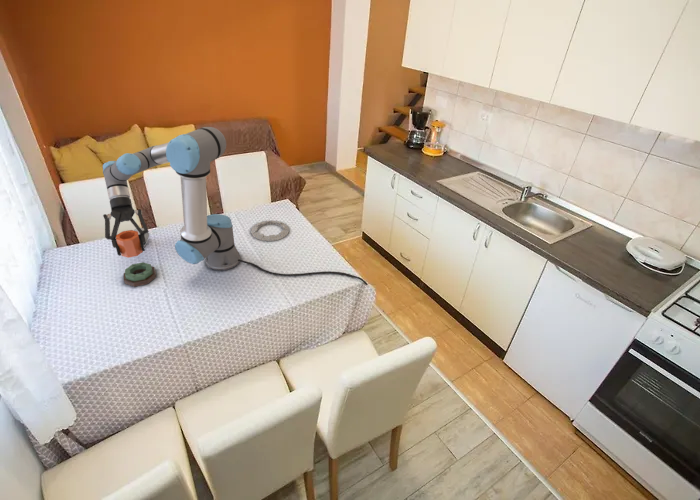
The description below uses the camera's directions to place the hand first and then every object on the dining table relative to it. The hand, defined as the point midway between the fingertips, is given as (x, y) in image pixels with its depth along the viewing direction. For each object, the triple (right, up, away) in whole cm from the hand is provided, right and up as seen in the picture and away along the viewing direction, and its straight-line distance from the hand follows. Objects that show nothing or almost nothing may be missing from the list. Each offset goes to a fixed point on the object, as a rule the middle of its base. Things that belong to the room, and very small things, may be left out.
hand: (131, 252), depth 152 cm
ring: (+46, +11, +48) cm, 67 cm away
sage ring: (-2, -9, +10) cm, 14 cm away
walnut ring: (-2, -11, +11) cm, 16 cm away
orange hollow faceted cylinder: (-2, 0, +4) cm, 4 cm away
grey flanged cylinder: (-14, +4, +31) cm, 34 cm away
